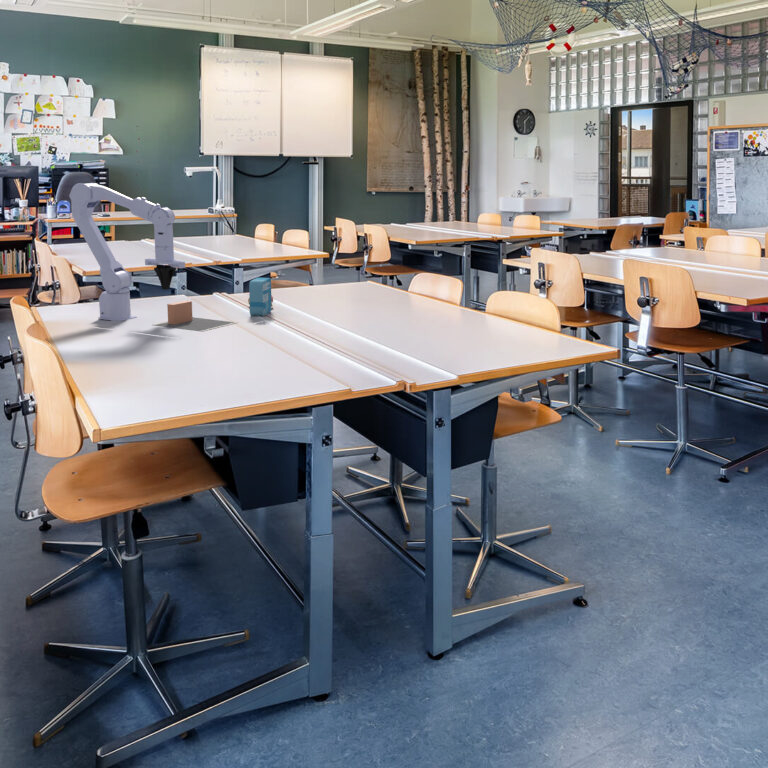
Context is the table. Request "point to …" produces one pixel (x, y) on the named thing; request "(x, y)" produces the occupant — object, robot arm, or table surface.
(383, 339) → the table surface
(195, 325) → the mat
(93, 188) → the robot arm
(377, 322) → the table surface
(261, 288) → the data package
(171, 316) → the card box
